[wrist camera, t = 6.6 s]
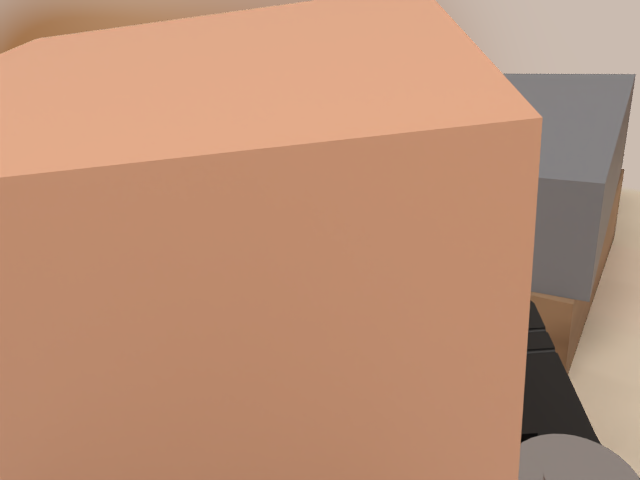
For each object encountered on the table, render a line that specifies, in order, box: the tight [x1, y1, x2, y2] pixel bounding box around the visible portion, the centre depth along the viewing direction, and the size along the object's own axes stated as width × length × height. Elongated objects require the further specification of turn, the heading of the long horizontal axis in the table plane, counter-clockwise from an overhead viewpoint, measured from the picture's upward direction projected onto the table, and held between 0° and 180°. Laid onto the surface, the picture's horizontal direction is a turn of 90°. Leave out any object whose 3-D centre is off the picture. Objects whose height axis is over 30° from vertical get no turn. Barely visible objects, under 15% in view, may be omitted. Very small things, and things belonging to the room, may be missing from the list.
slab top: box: [503, 74, 635, 302], centre depth 20 cm, size 9×9×4 cm
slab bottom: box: [530, 169, 624, 374], centre depth 21 cm, size 9×9×4 cm
